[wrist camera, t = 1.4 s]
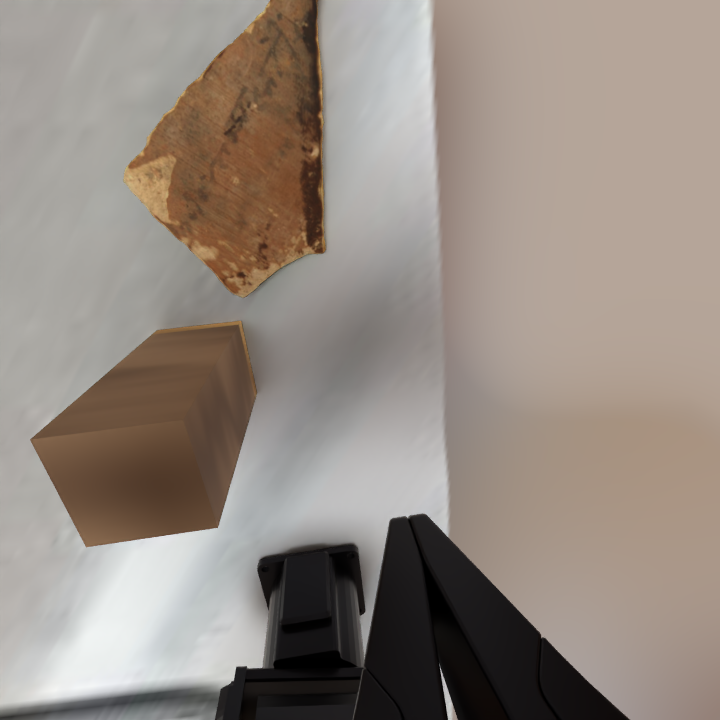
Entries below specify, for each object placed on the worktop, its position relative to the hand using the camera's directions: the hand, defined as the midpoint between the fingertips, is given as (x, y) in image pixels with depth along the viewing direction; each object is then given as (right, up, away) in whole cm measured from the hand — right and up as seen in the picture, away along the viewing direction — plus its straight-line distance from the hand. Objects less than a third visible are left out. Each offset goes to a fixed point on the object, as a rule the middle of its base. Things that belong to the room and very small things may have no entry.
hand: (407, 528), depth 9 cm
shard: (-7, +13, +7) cm, 16 cm away
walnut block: (-9, +4, +10) cm, 14 cm away
